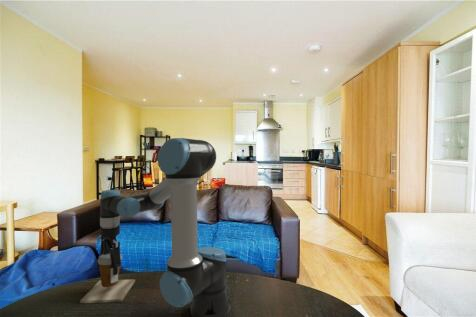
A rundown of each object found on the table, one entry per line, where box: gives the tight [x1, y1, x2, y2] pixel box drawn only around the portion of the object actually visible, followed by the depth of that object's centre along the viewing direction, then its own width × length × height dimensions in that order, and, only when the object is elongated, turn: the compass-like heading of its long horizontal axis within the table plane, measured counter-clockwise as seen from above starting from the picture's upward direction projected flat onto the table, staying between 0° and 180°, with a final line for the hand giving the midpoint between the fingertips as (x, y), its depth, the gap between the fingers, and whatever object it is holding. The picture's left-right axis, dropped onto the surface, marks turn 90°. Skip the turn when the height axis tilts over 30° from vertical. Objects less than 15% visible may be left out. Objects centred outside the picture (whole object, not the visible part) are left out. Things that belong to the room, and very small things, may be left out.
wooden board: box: [79, 278, 136, 304], centre depth 105 cm, size 16×16×1 cm
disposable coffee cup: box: [96, 252, 123, 287], centre depth 105 cm, size 10×10×12 cm
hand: (109, 278), depth 105 cm, fingers closed on disposable coffee cup, 8 cm apart
